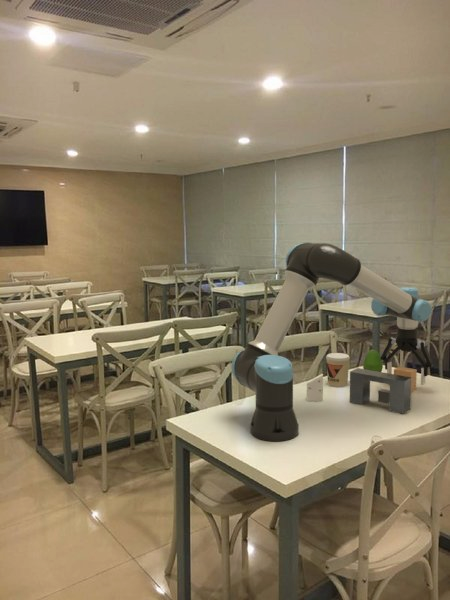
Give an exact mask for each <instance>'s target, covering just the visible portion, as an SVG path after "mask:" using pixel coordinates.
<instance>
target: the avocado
mask: <svg viewBox="0 0 450 600" xmlns="http://www.w3.org/2000/svg"><path fill="white" fill-rule="evenodd" d="M380 358H381V355H380V353H379V351H377V350H376V349H370V350H369V351H368V352H367V353H366V356H365V357H364V360H363V363H362V364H363V365H362V369H366V370H371V371H377V372H382V371H383V368H384V367H383V366H384V364H383V360H381V359H380Z"/></svg>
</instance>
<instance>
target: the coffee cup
mask: <svg viewBox="0 0 450 600" xmlns="http://www.w3.org/2000/svg"><path fill="white" fill-rule="evenodd" d="M325 358H326V359H325V360H326V374H327V377H326V378H327V385H328V384H329V386H331V387H334V388H335V387H336V388H343V387H347V385H348V381H349V370H350V369H349V368H350V355H348V354H347V353H342V352H331V353H328V354H327V355H326V357H325Z"/></svg>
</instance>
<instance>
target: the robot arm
mask: <svg viewBox="0 0 450 600" xmlns="http://www.w3.org/2000/svg"><path fill="white" fill-rule="evenodd" d="M285 263H286V264H285V266H286V269H284V270H285V271H284V275H285V281H284V282H283V284H282V285H281V288H280V290H279V292H278V293H277V296H276V298H275V299H274V301H273V304H272V306H271V307H270V310H269V312H268V313H267V315H266V317H265V319H264V321H263V323H262V324H261V327H260V329H259V331H258V333H257V335H256V337H255V339H253V340H252V341H248V343H247V344H246V347H245V348H244V349H243V350H240V351H238V352H237V353H236V354H235V355H234V357H233V359H232V362H231V373H232V375H233V378H234V379H235V380H236V382H238V383H239V384H240V385H242V386H244V387H246V388H247V389H250V390H251V391H253V392H255V393H254V394H255V409H254V411H253V415H252V419H251V422H250V434H251V435H252V436H253V437H255V438H256V439H259V440H263V441H270V442H283V441H288V440H291V439H294V438H296V437H297V436H298V435H299V431H300V428H299V427H300V425H299V422H298V420H297V417H296V414H295V410H294V368H293V363H292V362H291V360H290V359H288V358H286V357H284V356H282V355H279V353H278V351H279V349H280V347H281V345H282V343H283V342H284V340H285V337H286V336H287V333H288V331H289V329H290V328H291V325H292V324H293V321H294V319H295V317H296V316H297V313H298V311H299V310H300V308H301V305H302V304H303V302H304V299H305V298H306V296H307V293H308V291H309V290H311V289H314V288H315V287H316V286H317V284H318V282H319V280H320V279H322V280H330V281H334V282H337V283H339V284H341V285H343V286H351V287H352V288H354V289H356V290H358V291H360V292H361V293H363V294H364V295H367V296H368V297H370V298H371V299H372V300H371V302H370V305H371V306H370V307H371V311H372V313H373V314H375V315H376V316H379V317H380V316H381V317H384V316H391V317H396V319H397V320H396V326H397V328H396V338H394V337H392V336H391V337H390V338H388V341H387V345H386V347H385V348H384V351H383V353H382V354H381V355H380V357H381V358H380V359H381V360H382V361H383V362H384V369H385V370H386V373H389V374H393V373H392V369H393V366H392V365H393V361H391V360H392V358H394V357H395V356H396V355H397V354H398V353H399V351H400V350H401V352H407V353H408V352H409V353H411V354H413V355H414V357H415V358H416V359H417V360H418V362H419V363H420V365H421V366H422V367H421V369H420V371H421V373H420V385H421V386H423V385H425V384H426V377H428V376H429V368H432V367H433V366H435V363H434V362H433V359H432V358H431V355H430V353H429V350H428V348H427V343H426V341H425V340H423V341H418V325H419V322H425V321H427V320H428V319H429V318H430V316H431V314H432V305H431V304H430V302H429V301H427V300H425V299H422V298H419V290H418V288H416V287H410V286H409V287H406V286H403V287H398V286H397V285H395V284H393V283H391V282H390V281H388V280H386V279H385V278H384V277H382V276H380V275H378V274H377V273H375V272H373V271H372V270H370V269H368V268H367V267H365V266H364V265H362V262H361V260H360V259H359V258H357V257H355V256H354V255H352V254H350V253H349V252H347V251H346V250H344V249H342V248H341V247H338V246H336V245H334V244H332V243H331V244H330V243H328V242H326V243H325V242H323V243H322V242H320V243H319V242H317V243H316V242H313V243H312V242H302V243H298V244H296V245H293V246H292V247H291V248H290V249H289V250H288V251H287V253H286V257H285ZM395 343H396V345H397V346H396V347H395V348H394V350H392V352H390V351H391V349H392V347H393V345H394V344H395ZM418 347H419V348H420V350H421V352H420V350H419V349H418ZM389 352H390V354H389ZM421 353H422V354H423V355H422V354H421ZM388 354H389V355H388Z"/></svg>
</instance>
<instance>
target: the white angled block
mask: <svg viewBox="0 0 450 600" xmlns="http://www.w3.org/2000/svg"><path fill="white" fill-rule="evenodd" d="M323 397H324V374H323V373H321V374H319V375H317V376H315V377H314V378H312V379H310V380H308V381H307V382H306V402H324V398H323Z"/></svg>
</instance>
